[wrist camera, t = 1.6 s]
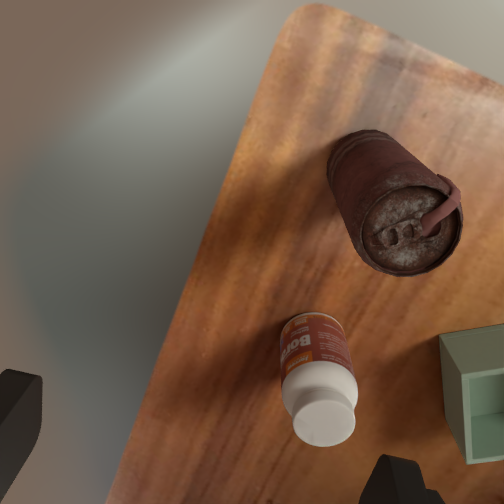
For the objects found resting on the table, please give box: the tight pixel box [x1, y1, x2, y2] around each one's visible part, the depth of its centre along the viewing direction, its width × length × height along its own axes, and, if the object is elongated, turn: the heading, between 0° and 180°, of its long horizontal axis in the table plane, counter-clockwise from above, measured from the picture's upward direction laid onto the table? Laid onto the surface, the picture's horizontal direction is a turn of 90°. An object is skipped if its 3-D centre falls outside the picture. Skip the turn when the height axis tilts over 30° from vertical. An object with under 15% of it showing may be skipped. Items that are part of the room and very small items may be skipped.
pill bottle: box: [280, 312, 358, 447], centre depth 40 cm, size 6×6×11 cm
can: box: [327, 130, 463, 277], centre depth 32 cm, size 6×6×14 cm
